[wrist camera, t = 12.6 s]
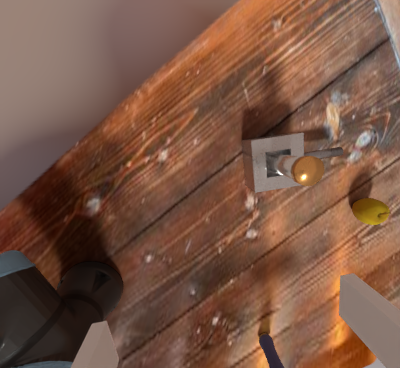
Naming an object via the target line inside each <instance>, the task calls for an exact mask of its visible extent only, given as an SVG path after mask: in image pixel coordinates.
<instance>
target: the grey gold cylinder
mask: <svg viewBox="0 0 400 368" xmlns="http://www.w3.org/2000/svg"><path fill="white" fill-rule="evenodd" d="M266 169H267V170H269V171H272V172H275V173H278V174H280V175H283V176H286V177H289V178H292V179H293V180H294V181H295V182H296V183H298V184H301V185H304V186H312V185H314V184H316V183H317V182H319V181H320V179H321V178H322V176H323V174H324V165H323V162H322V161H321V160H320V159H319V158H317V157H314V156H301V157H297V156H291V155H284V154H278V153H267V154H266Z"/></svg>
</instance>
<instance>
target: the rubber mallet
mask: <svg viewBox="0 0 400 368" xmlns="http://www.w3.org/2000/svg"><path fill="white" fill-rule="evenodd" d="M259 343H260V345H261V347H262V349H263V351H264V353H265V355H266V358H267V361H268V363H269V367H270V368H284V366H283V365H282V363H281V361H280V359H279V357H278V354H277V352H276V350H275V347H274V344H273V340H272V338H271V336H269V335H268V334H267V333H262V334H261V335H260V336H259Z"/></svg>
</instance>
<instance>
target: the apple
mask: <svg viewBox="0 0 400 368" xmlns="http://www.w3.org/2000/svg"><path fill="white" fill-rule="evenodd" d="M352 211H353V214H354V216H355V217H356V218H357V219H358V220H360V221H361V222H364V223H366V224H370V225H376V224H380V223H382V222H384V221H385V220H386V219H387V217H388V216H389V213H390V210H389V208H388V206H387V205H386V204H384V203H383V202H381V201H379V200H376V199H373V198H364V199H360V200H358V201H356V202H354V204H353V207H352Z"/></svg>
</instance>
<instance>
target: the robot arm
mask: <svg viewBox="0 0 400 368" xmlns="http://www.w3.org/2000/svg"><path fill="white" fill-rule="evenodd" d="M35 266H36V265H35V264H34V263H31V262H30V260H29V259H28V258H27V257H26V256H25V255H24V254H23V253H21V252H20V251H16V250H11V251H7V252H4V253H2V254H0V368H117V365H118V361H119V358H118V354H117V351H116V348H115V345H114V342H113V339H112V336H111V333H110V330H109V327H108V324H107V321H104V320H105V319H106V317H107V316H108V315H109V313H110V312H112V311H113V310H114V308H115V307H116V306H117V304H118V303H119V301H120V298H121V296H122V293H123V282H122V279H121V277H120V275H119V274H118V273H117V272H116V271H115V270H114V269H113V268H112V267H110V266H108V265H106V264H103V263H100V262H83V263H79V264H77V265H75V266H73V267H72V268H70V269H69V270H68V271H67V273H66V274H65V275H64V276H63V277H62V279H61V280H60V282H59V284H58V287H57V290H55V289H54V288H53V287H52V285H51V284H50V283H49V282H48V281H47V279H46V278H45V277H44V276H43V275H42V274H41V272H40V271H39V270H38V269H37V268H36V267H35ZM339 315H340V316H341V317H342V319H343V320H344V321H345V322H346V323H347V324H348V325H349V326H350V328H351V329H352V330H353V331H354V332H355V333H356V334H357V335H358V337H359V338H360V339H361V340H362V341H363V342H364V343H365V344H366V346H367V347H368V348H369V349H370V350H371V351H372V352H373V353H374V355H375V356H376V357H377V358H378V359H379V360H380V361H381V362H382V364H383V365H384V366H385V367H386V368H400V310H399V309H398V308H396V307H395V306H394V305H393V304H391V303H390V302H389V301H388V300H386V299H385V298H384V297H383V296H381V295H380V294H379V293H378V292H376V291H375V290H374V289H372V288H371V287H370V286H369V285H367V284H366V283H365V282H364V281H362V280H361V279H360V278H359V277H357V276H356V275H355V274H354V273H352V274H347V275H342V276H341V277H340V302H339Z"/></svg>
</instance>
